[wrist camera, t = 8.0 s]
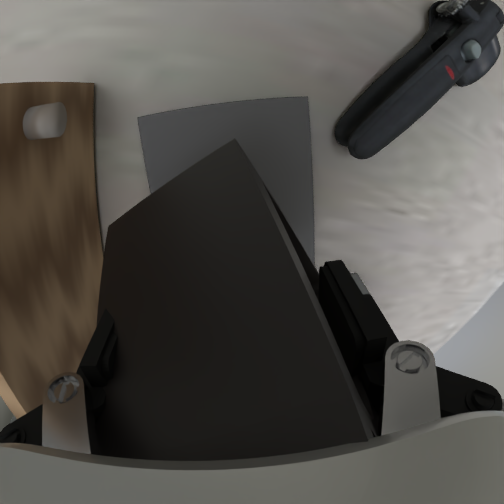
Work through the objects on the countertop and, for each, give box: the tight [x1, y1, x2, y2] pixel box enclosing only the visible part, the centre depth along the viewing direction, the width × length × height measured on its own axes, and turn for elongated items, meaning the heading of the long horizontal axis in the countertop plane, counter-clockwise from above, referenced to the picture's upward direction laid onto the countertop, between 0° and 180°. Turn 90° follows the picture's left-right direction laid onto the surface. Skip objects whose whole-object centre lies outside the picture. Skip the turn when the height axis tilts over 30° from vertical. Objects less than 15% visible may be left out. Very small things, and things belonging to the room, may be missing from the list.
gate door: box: [0, 82, 103, 419], centre depth 15 cm, size 19×3×14 cm, turn 176°
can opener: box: [335, 0, 504, 159], centre depth 16 cm, size 18×7×6 cm, turn 135°
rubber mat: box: [138, 96, 314, 264], centre depth 22 cm, size 11×13×1 cm
